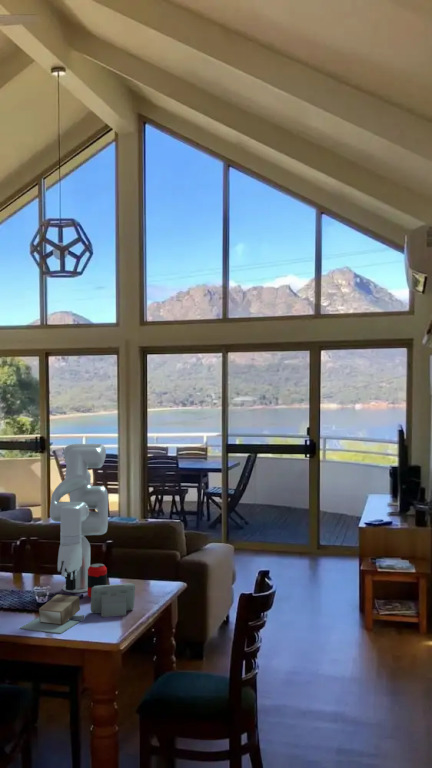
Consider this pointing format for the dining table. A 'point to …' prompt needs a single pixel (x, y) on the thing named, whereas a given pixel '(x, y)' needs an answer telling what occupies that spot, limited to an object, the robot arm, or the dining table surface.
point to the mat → (49, 626)
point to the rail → (77, 617)
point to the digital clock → (112, 599)
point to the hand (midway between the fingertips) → (70, 589)
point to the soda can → (96, 576)
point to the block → (59, 609)
